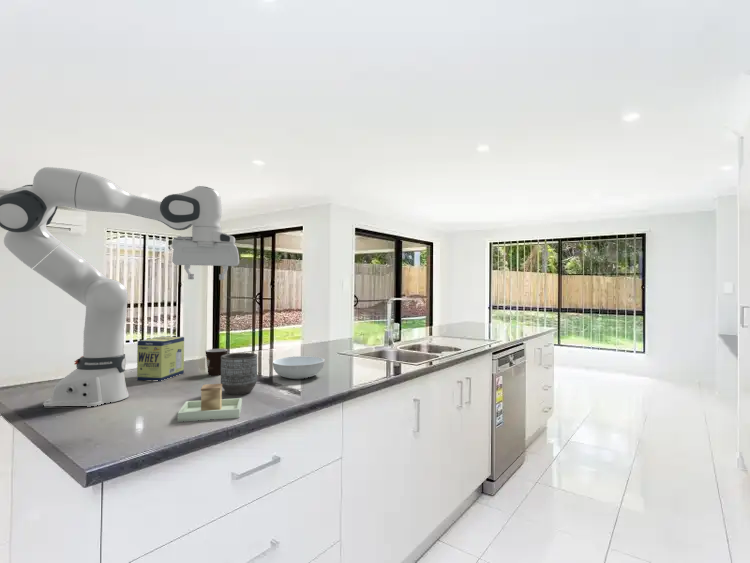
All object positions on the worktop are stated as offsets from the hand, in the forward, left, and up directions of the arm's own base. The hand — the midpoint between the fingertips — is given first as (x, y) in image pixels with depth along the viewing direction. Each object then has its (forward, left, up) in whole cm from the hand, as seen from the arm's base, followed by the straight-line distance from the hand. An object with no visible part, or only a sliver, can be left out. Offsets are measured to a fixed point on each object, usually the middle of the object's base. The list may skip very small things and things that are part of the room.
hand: (206, 279), depth 136 cm
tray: (+4, -16, -39) cm, 42 cm away
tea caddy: (+4, -16, -38) cm, 42 cm away
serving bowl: (+32, +28, -39) cm, 58 cm away
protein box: (-22, +40, -39) cm, 60 cm away
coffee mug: (-1, +39, -39) cm, 55 cm away
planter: (+10, +8, -39) cm, 41 cm away
